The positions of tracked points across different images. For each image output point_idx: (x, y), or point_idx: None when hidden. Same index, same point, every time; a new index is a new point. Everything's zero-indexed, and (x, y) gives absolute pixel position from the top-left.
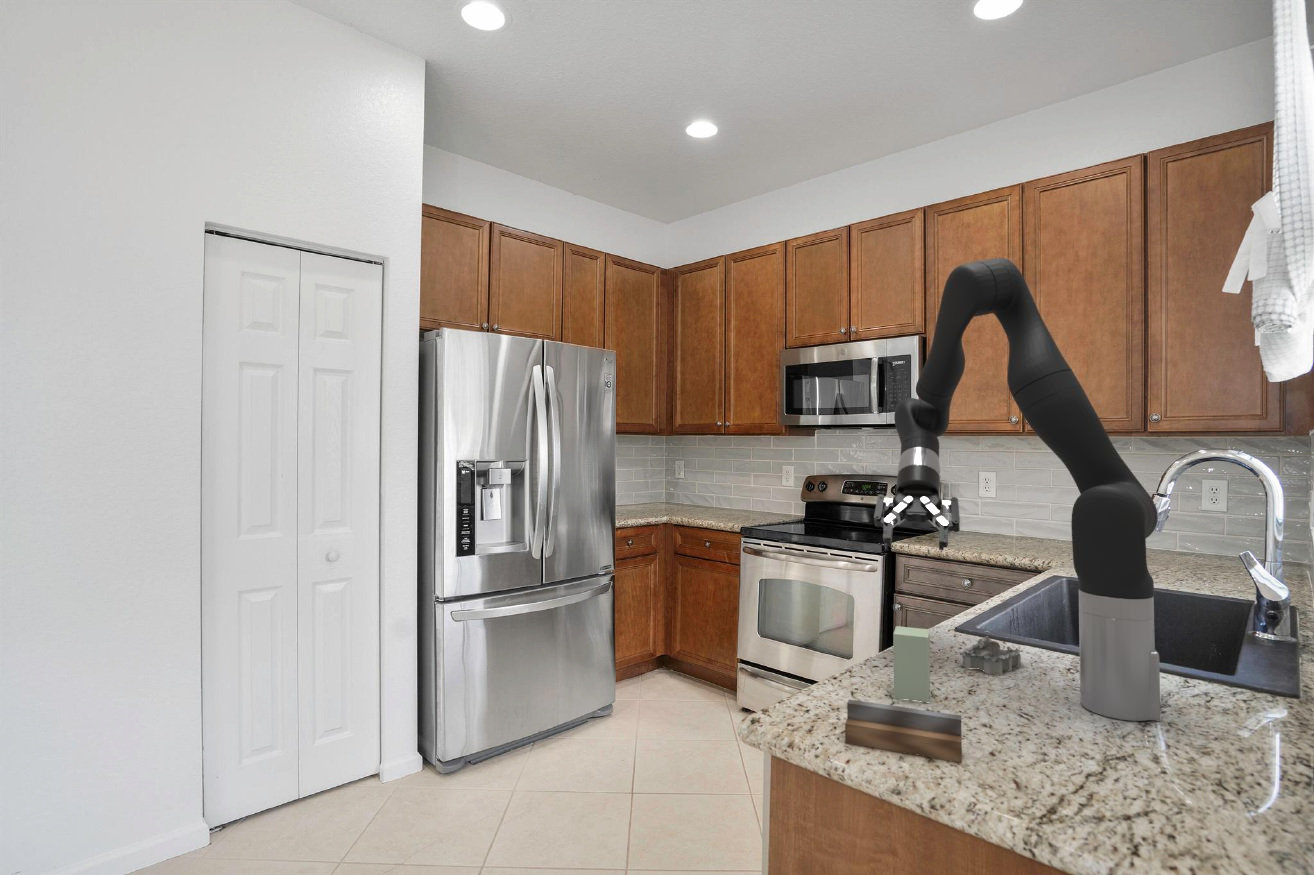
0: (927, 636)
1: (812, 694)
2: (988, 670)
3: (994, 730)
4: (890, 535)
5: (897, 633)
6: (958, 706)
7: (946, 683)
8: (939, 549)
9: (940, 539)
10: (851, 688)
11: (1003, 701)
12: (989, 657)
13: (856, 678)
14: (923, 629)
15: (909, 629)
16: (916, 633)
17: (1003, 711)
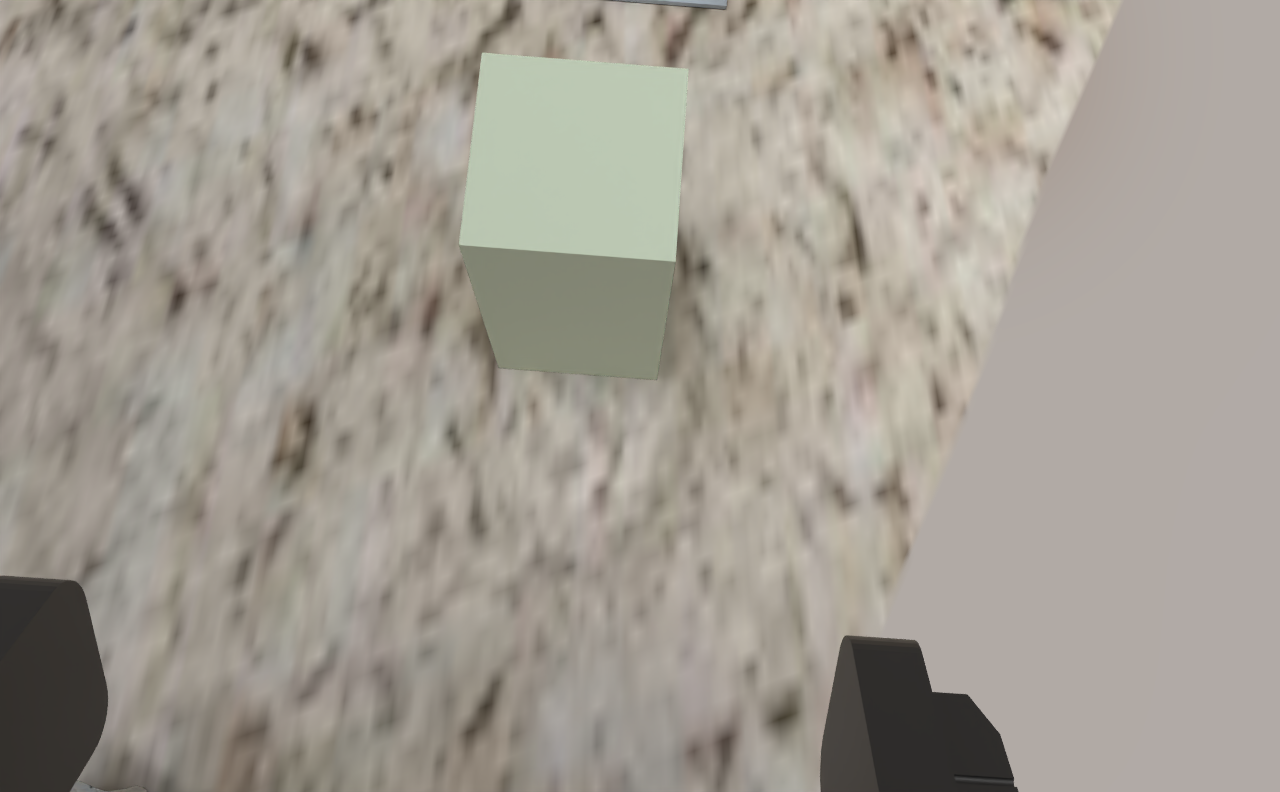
0: (484, 74)
1: (1027, 171)
2: (133, 789)
3: (282, 18)
4: (866, 687)
5: (664, 85)
6: (386, 227)
7: (404, 536)
8: (103, 688)
9: (15, 608)
10: (869, 304)
11: (166, 356)
12: (92, 788)
13: (863, 460)
14: (498, 233)
15: (589, 203)
16: (547, 122)
17: (197, 229)
